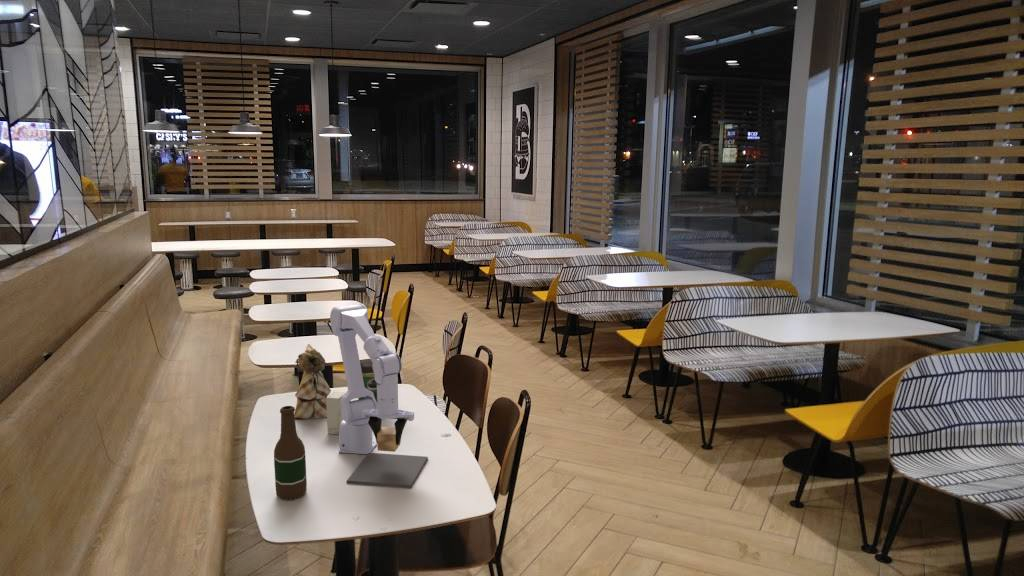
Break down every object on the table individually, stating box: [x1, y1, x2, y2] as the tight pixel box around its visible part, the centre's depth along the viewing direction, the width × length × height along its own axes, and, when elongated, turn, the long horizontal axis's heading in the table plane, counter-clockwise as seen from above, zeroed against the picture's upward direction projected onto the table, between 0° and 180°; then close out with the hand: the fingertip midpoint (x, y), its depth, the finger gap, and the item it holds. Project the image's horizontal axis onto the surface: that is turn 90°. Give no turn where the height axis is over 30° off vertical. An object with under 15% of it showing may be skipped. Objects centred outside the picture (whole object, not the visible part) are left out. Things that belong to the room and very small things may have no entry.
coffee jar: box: [357, 358, 377, 402], centre depth 237 cm, size 10×8×19 cm
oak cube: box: [376, 426, 401, 453], centre depth 192 cm, size 5×5×5 cm
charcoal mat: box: [346, 452, 429, 489], centre depth 193 cm, size 18×18×1 cm
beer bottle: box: [273, 405, 308, 501], centre depth 177 cm, size 8×8×24 cm
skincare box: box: [326, 391, 346, 435], centre depth 219 cm, size 6×4×12 cm
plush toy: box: [294, 343, 332, 420], centre depth 232 cm, size 14×14×25 cm
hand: (388, 442), depth 191 cm, fingers closed on oak cube, 5 cm apart
